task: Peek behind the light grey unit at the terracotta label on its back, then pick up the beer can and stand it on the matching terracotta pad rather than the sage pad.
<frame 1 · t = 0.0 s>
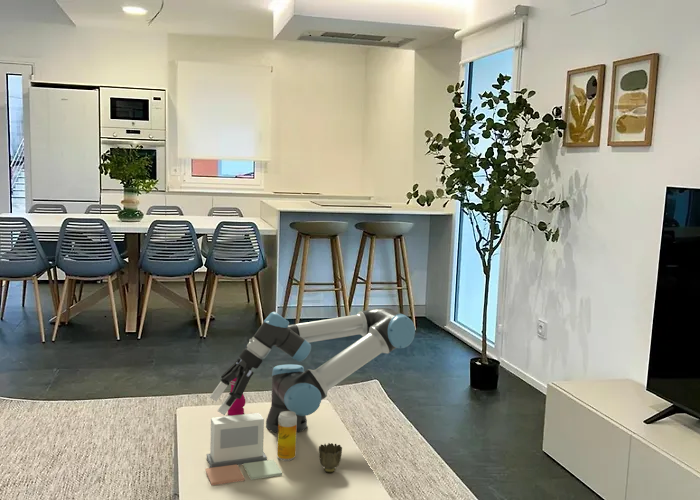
hand: (216, 406, 219), 15 cm above the table, tool tilted 35°, fingers open, 13 cm apart
pepper mill: (235, 413, 255), on the table
beer can: (286, 458, 218), on the table
sage pad: (262, 470, 207), on the table
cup: (329, 472, 209), on the table
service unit: (236, 459, 214), on the table
terracotta pad: (224, 475, 203), on the table
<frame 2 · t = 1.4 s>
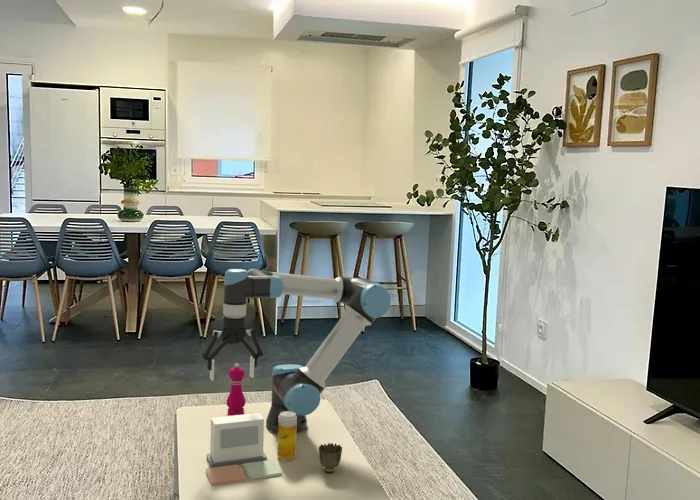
hand: (231, 377, 221), 24 cm above the table, tool pointing down, fingers open, 13 cm apart
nothing on the table moved.
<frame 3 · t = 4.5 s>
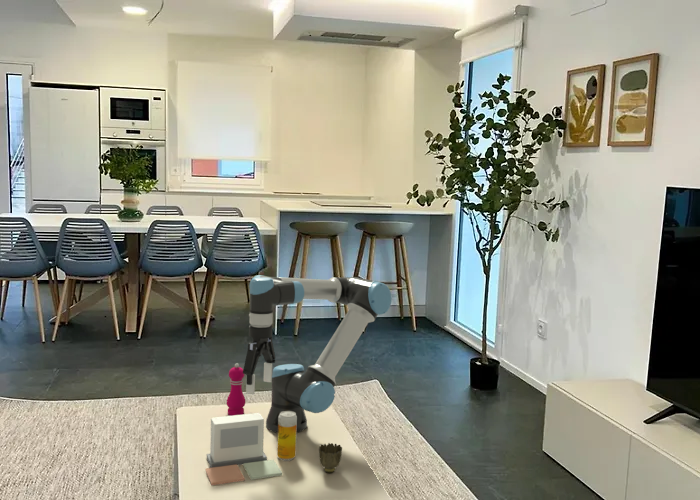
hand: (259, 387, 218), 22 cm above the table, tool pointing down, fingers open, 13 cm apart
nothing on the table moved.
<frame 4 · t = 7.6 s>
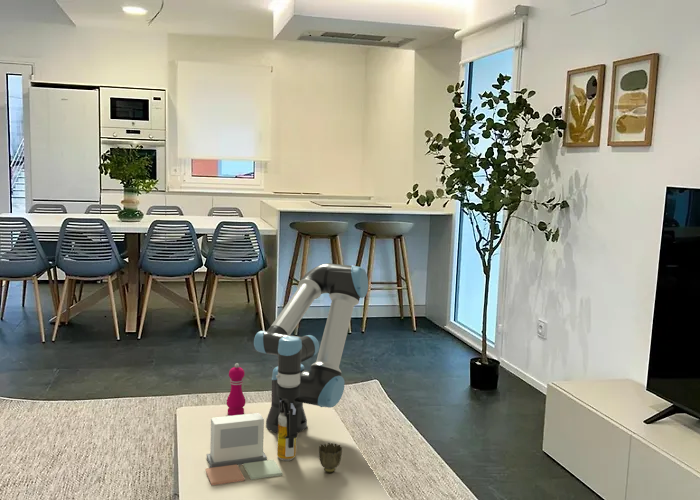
hand: (286, 451, 217), 2 cm above the table, tool pointing down, fingers closed on beer can, 6 cm apart
beer can: (286, 457, 218), on the table, touching gripper
everything else where it was.
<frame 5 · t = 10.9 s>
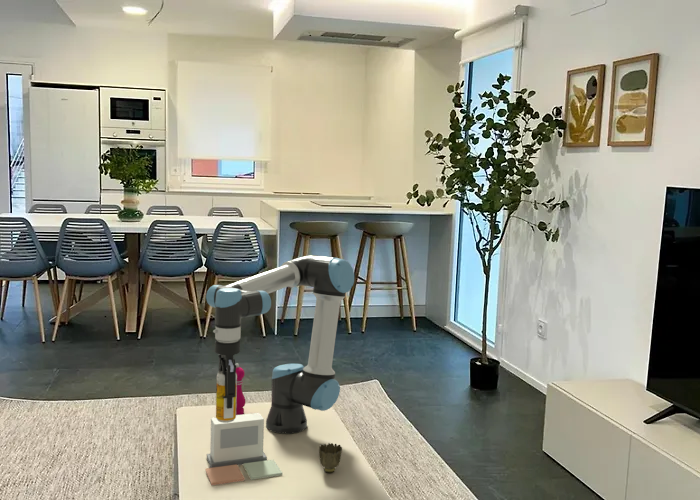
hand: (226, 413, 201), 20 cm above the table, tool pointing down, fingers closed on beer can, 6 cm apart
beer can: (225, 420, 201), point 18 cm above the table, touching gripper
everything else where it was.
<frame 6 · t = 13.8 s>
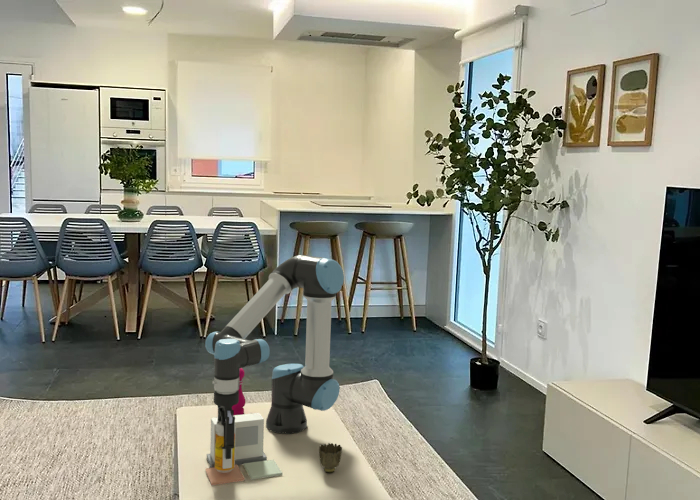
hand: (224, 463, 202), 4 cm above the table, tool pointing down, fingers closed on beer can, 6 cm apart
beer can: (224, 469, 203), point 2 cm above the table, touching gripper
everything else where it was.
when the fingers open (4 cm above the table, at t = 14.2 s): beer can drops 1 cm, resting on terracotta pad.
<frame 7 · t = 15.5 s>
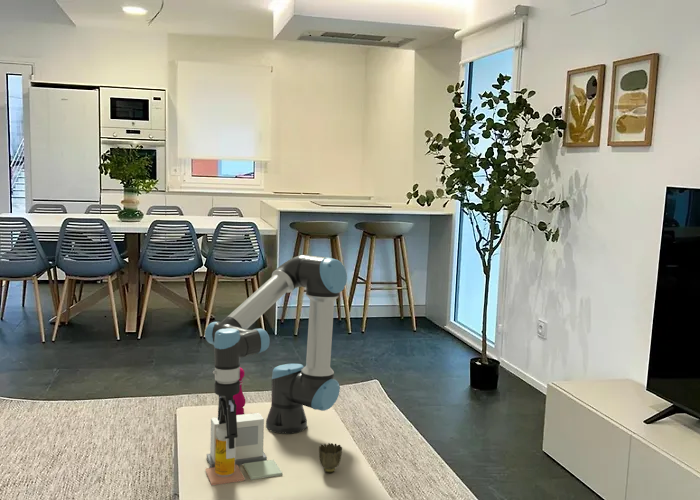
hand: (227, 451, 202), 8 cm above the table, tool pointing down, fingers open, 9 cm apart
beer can: (224, 474, 203), point 1 cm above the table, touching terracotta pad
everything else where it was.
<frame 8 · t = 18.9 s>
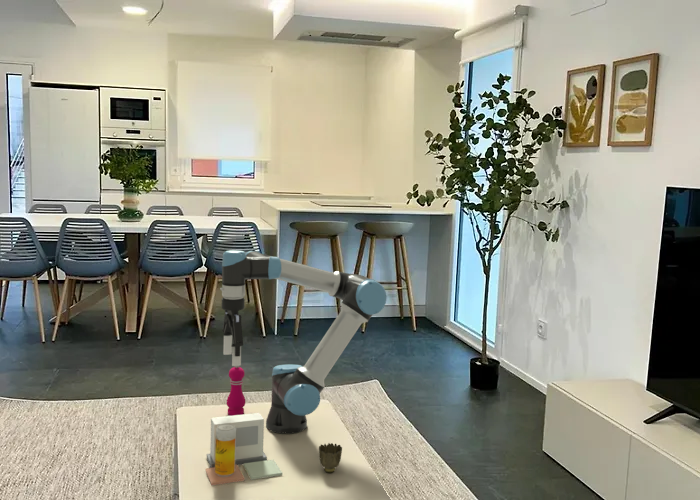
hand: (231, 359, 220), 31 cm above the table, tool pointing down, fingers open, 13 cm apart
nothing on the table moved.
at the end: beer can inside the target area on the terracotta pad (0.1 cm from its centre), point 0.6 cm above the terracotta pad's base; beer can tilted 0°; the gripper is holding nothing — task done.
